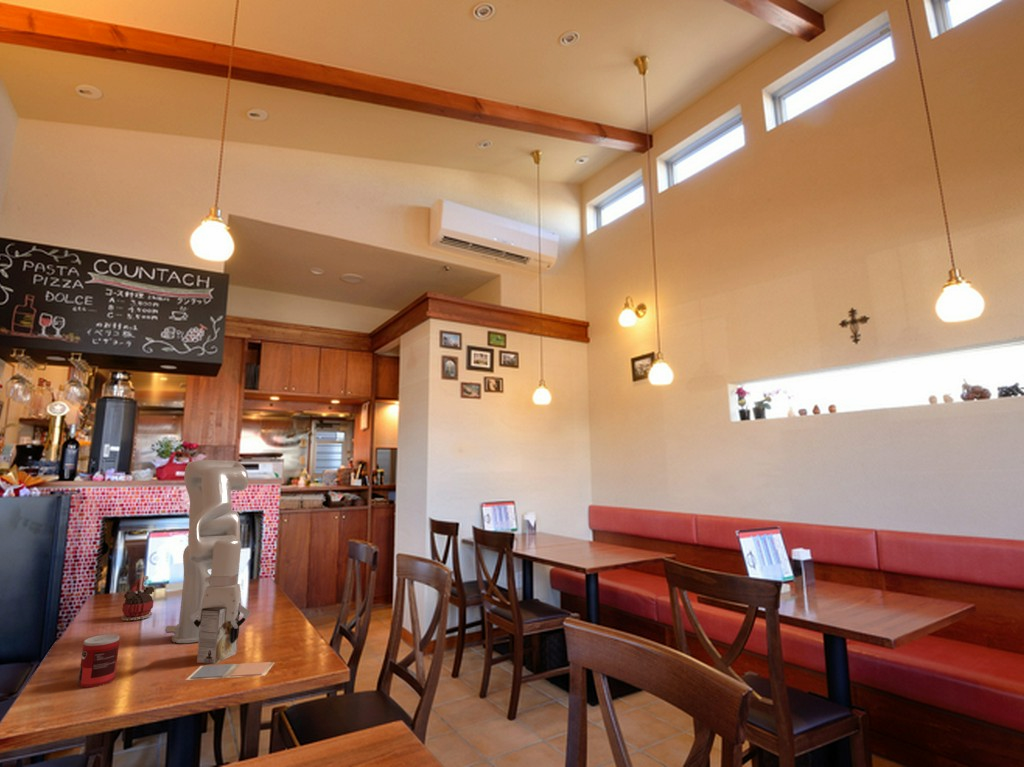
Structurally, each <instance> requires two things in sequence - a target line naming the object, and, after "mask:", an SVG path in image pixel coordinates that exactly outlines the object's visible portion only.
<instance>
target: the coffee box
mask: <svg viewBox="0 0 1024 767" xmlns="http://www.w3.org/2000/svg"><path fill="white" fill-rule="evenodd" d="M226 611H227V608H203V609H202V613H201V623H200V634H199V642H198V647H197V648H198V649H197V657H196V658H197V659H196V663H202V664H211V665H217V664H218V663H220V662H222V661H224V660H226V659H227V658H230V657H232V656H234V655H236V654H237V648H238V639H236V641H235V642H234V643H231V631H232V629H233V625H232V623H231V622H226ZM238 619H239V620H240V615H239V616H238Z"/></svg>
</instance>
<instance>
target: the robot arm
mask: <svg viewBox="0 0 1024 767" xmlns="http://www.w3.org/2000/svg"><path fill="white" fill-rule="evenodd" d="M183 477H184V485H185V488H186V491H187V494H188V497H189V498H188V499H189V514H188V517H189V518H188V520H189V521H188V529H189V530H188V536H187V541H188V542H187V543H188V545H187V546H186V547H185V548H184V550H183V553H182V560H183V561H182V563H183V581H182V582H183V583H182V592H181V601H180V612H179V620H178V624H177V625H166V627H165V630H164V632H165V634H171V633H173V635H172V637H171V641H172V642H173V643H175V642H176V643H175V644H192V643H193V644H194V643H199V634H200V623H201V613H202V609H203V608H227V611H226V622H231V623H232V625H233V629H232V631H231V643H234V642H235V641H236V639H237V640H238V638H239V635H240V634H239V633H240V626H242V625H243V624H244V623H245V621H246V620H247V619H248V618H249V617H250V615H251V613H252V612H251V611H250V610H248V609H247V608H246V607H244V605H242V593H241V592H242V591H241V584H240V583H239V574H240V573H239V571H240V561H241V550H242V541H241V518H240V515H239V513H238V512H237V511H236V510H234V509H232V508H233V503H232V494H231V492H242V491H244V490H246V489H247V487H248V485H249V474H248V471H247V469H246V467H245V466H244V465H242V464H241V462H239V461H237V460H229V459H228V460H227V459H226V460H223V459H222V460H218V459H200V460H199V459H198V460H193V461H191V462H189V463H187V465H186V466H185V469H184V476H183ZM209 570H211V571H210V573H209ZM241 614H243V615H242V618H239V619H238V616H239V617H240V615H241Z"/></svg>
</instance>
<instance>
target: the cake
mask: <svg viewBox="0 0 1024 767" xmlns="http://www.w3.org/2000/svg"><path fill="white" fill-rule="evenodd" d="M144 574H145V569H144V568H142V569H140V576H139V578H138V579H137V580H136V581H135V582H134V583H133V584H132V587H131V588H130V590H129V591H126V593H124V594H123V595H124V596H123V599H124V600H125V601H124V602H123V604H122V607H121V608H122V610H121V611H122V613H123V615H122V616H121V618H120V619H121V620H122V621H130V620H133V621H139V620H138V619H141V620H144V618H145V619H147V618H150V617H152V615H153V612H151V611H152V609H153V608H154V601H155V600H154V599H153V596H152V595H153V593H154V592H155V588H154V587H153V586H148V587H146V586H145V581H146V582H147V581H148V580H149V578H150V577H149V576H148V575H144Z"/></svg>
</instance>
